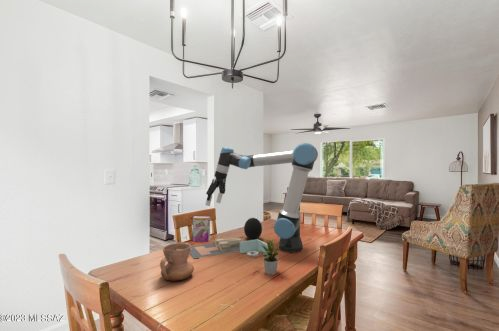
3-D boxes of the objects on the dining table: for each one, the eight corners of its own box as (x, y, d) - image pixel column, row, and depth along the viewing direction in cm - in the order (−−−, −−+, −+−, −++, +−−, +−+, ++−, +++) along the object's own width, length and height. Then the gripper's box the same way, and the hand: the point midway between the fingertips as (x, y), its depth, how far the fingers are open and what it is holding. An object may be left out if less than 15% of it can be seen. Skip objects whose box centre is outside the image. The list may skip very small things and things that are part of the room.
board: (252, 249, 157) (252, 248, 157) (194, 259, 141) (194, 258, 141) (238, 240, 177) (238, 239, 177) (184, 247, 161) (184, 247, 161)
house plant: (249, 267, 129) (249, 235, 129) (274, 264, 134) (274, 232, 134) (261, 279, 116) (261, 243, 116) (288, 275, 121) (288, 240, 121)
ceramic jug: (180, 267, 130) (179, 239, 130) (202, 273, 122) (201, 243, 122) (149, 281, 115) (149, 249, 115) (172, 289, 107) (171, 255, 107)
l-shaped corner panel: (239, 254, 150) (239, 241, 150) (257, 251, 156) (257, 239, 156) (249, 261, 139) (249, 247, 139) (268, 258, 145) (268, 244, 145)
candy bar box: (192, 242, 173) (192, 217, 173) (194, 240, 178) (194, 216, 178) (208, 242, 172) (208, 217, 172) (210, 240, 177) (210, 216, 177)
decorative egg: (265, 238, 181) (265, 217, 181) (256, 243, 170) (256, 220, 170) (249, 236, 187) (249, 215, 187) (240, 240, 177) (240, 218, 177)
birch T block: (245, 248, 159) (245, 241, 159) (222, 251, 152) (222, 244, 152) (235, 241, 172) (235, 235, 172) (213, 244, 166) (213, 238, 166)
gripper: (225, 169, 174) (217, 199, 176) (206, 170, 151) (197, 204, 153) (235, 173, 171) (227, 203, 173) (217, 173, 148) (207, 209, 150)
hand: (213, 204), depth 163 cm, fingers open, 13 cm apart
